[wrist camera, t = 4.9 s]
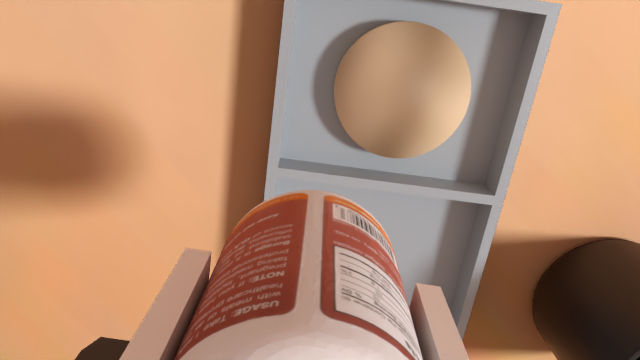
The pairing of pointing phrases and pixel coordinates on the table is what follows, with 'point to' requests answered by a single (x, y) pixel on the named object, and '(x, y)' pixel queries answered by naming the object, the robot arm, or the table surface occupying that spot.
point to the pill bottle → (304, 287)
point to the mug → (592, 303)
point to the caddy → (427, 169)
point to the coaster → (402, 89)
